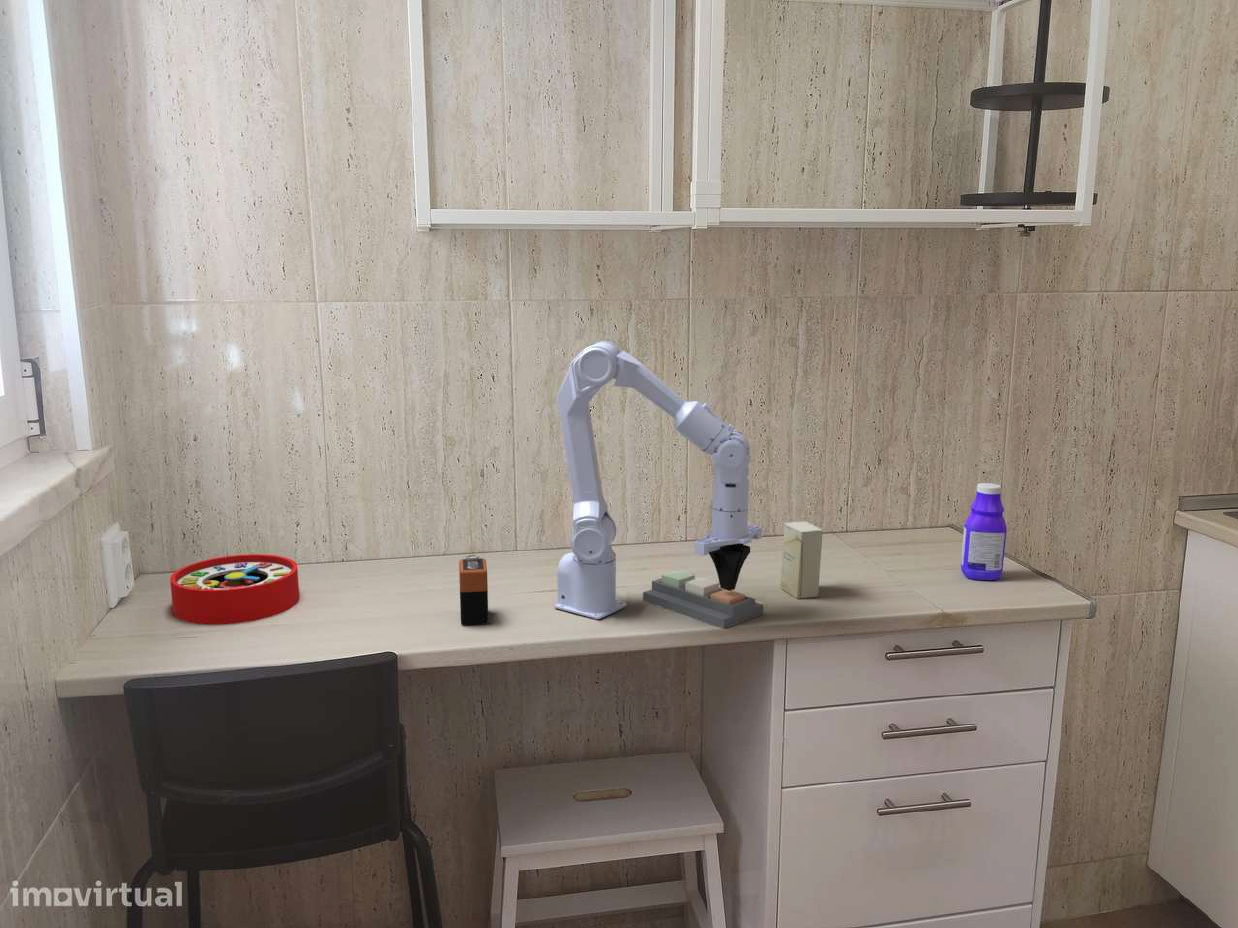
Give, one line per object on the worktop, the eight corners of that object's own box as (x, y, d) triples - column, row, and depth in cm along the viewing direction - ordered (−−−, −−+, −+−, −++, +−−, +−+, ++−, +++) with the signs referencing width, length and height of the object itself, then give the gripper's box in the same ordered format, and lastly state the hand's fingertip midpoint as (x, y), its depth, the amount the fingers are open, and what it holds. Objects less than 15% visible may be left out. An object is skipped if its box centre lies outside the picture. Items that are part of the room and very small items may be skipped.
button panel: (642, 600, 168) (643, 583, 168) (682, 587, 175) (682, 571, 175) (723, 628, 156) (724, 610, 155) (763, 613, 162) (763, 595, 162)
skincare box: (779, 588, 175) (782, 522, 172) (801, 585, 176) (804, 520, 174) (798, 599, 169) (801, 531, 167) (820, 596, 171) (823, 529, 168)
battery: (487, 610, 164) (485, 552, 162) (488, 624, 157) (487, 564, 155) (460, 611, 163) (458, 553, 161) (461, 626, 156) (459, 566, 154)
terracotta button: (710, 603, 161) (710, 594, 161) (726, 597, 164) (726, 588, 164) (729, 609, 158) (729, 600, 158) (744, 603, 161) (745, 594, 161)
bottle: (997, 572, 184) (1004, 481, 181) (1005, 582, 179) (1013, 488, 175) (957, 571, 185) (964, 480, 181) (964, 581, 179) (971, 487, 176)
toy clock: (142, 584, 159) (224, 550, 178) (145, 618, 160) (226, 581, 179) (247, 596, 153) (321, 559, 172) (250, 631, 154) (322, 591, 173)
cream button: (685, 591, 165) (685, 582, 165) (701, 586, 168) (701, 577, 167) (703, 597, 162) (703, 587, 162) (719, 591, 165) (719, 582, 165)
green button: (661, 583, 169) (661, 574, 168) (677, 578, 172) (677, 569, 171) (678, 589, 166) (678, 580, 166) (694, 583, 169) (694, 575, 168)
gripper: (719, 520, 150) (717, 604, 153) (777, 504, 160) (774, 584, 163) (685, 511, 155) (683, 593, 158) (743, 497, 165) (741, 574, 168)
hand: (727, 588), depth 161 cm, fingers closed
